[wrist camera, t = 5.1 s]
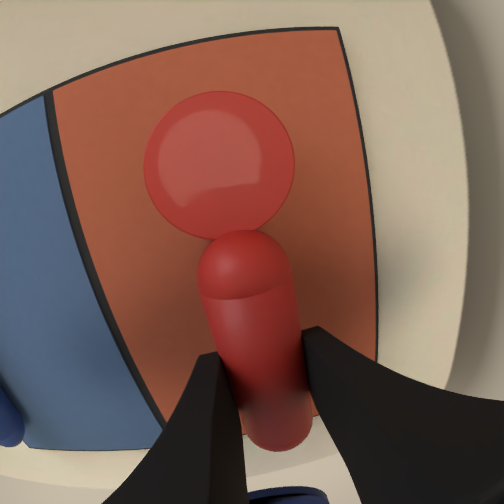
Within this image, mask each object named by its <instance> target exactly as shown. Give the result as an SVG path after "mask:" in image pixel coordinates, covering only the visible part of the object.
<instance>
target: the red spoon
mask: <svg viewBox="0 0 504 504" xmlns="http://www.w3.org/2000/svg"><path fill="white" fill-rule="evenodd" d="M294 172H295V157H294V150H293V146H292V142H291V139H290V137H289V134H288V132H287V130H286V128H285V127H284V125H283V123H282V122H281V121H280V119H279V118H278V117H277V116H276V115H275V114H274V113H273V112H272V111H271V110H270V109H269V108H268V107H267V106H265V105H264V104H263V103H261V102H259V101H258V100H256V99H254V98H252V97H249V96H247V95H244V94H241V93H237V92H231V91H210V92H203V93H200V94H196V95H193V96H191V97H189V98H186V99H184V100H183V101H181V102H179V103H178V104H176V105H175V106H173V107H172V108H171V109H170V110H168V111H167V112H166V113H165V114H164V115H163V116H162V117H161V119H160V120H159V121H158V123H157V124H156V125H155V127H154V129H153V131H152V132H151V134H150V136H149V139H148V142H147V144H146V148H145V152H144V160H143V175H144V180H145V185H146V188H147V192H148V194H149V196H150V198H151V201H152V203H153V204H154V206H155V207H156V209H157V210H158V211H159V213H160V214H161V215H162V216H163V217H164V218H165V219H166V220H167V221H168V222H169V223H170V224H172V225H173V226H174V227H176V228H177V229H179V230H181V231H183V232H185V233H187V234H189V235H192V236H195V237H198V238H203V239H208V240H213V241H211V242H210V243H209V245H208V246H207V247H206V248H205V250H204V251H203V253H202V255H201V257H200V259H199V263H198V267H197V277H196V279H197V284H198V290H199V294H200V297H201V300H202V304H203V307H204V310H205V314H206V317H207V320H208V323H209V326H210V330H211V333H212V336H213V339H214V342H215V345H216V348H217V351H218V354H219V355H220V358H221V361H222V364H223V367H224V370H225V373H226V376H227V379H228V382H229V384H230V387H231V390H232V393H233V396H234V399H235V402H236V404H237V407H238V411H239V415H240V418H241V421H242V423H243V426H244V429H245V431H246V433H247V435H248V437H249V438H250V440H251V441H253V442H254V443H255V444H256V445H257V446H259V447H261V448H262V449H265V450H269V451H274V452H281V451H287V450H290V449H292V448H294V447H296V446H298V445H299V444H300V443H302V442H303V441H304V440H305V438H306V437H307V436H308V434H309V432H310V430H311V427H312V420H313V415H312V407H311V399H310V391H309V385H308V378H307V371H306V363H305V356H304V349H303V342H302V335H301V334H302V333H301V326H300V319H299V313H298V306H297V300H296V293H295V287H294V281H293V275H292V268H291V264H290V261H289V258H288V256H287V254H286V252H285V250H284V249H283V248H282V246H281V245H280V244H279V243H278V242H277V241H276V240H275V239H273V238H272V237H271V236H269V235H268V234H266V233H263V232H261V231H258V230H257V229H259V228H260V227H262V226H263V225H264V224H266V223H267V222H268V221H270V220H271V219H272V217H273V216H274V215H275V214H276V213H277V212H278V211H279V209H280V208H281V207H282V205H283V204H284V202H285V200H286V199H287V197H288V194H289V192H290V190H291V186H292V183H293V179H294Z"/></svg>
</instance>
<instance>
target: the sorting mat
mask: <svg viewBox="0 0 504 504" xmlns="http://www.w3.org/2000/svg"><path fill="white" fill-rule="evenodd" d="M210 91H231V92H237V93H241V94H244V95H247V96H249V97H252V98H254V99H256V100H258V101H259V102H261V103H263V104H264V105H265V106H267V107H268V108H269V109H270V110H271V111H272V112H273V113H274V114H275V115H276V116H277V117H278V118H279V119H280V121H281V122H282V123H283V125H284V127H285V128H286V130H287V132H288V134H289V137H290V139H291V142H292V146H293V150H294V157H295V172H294V179H293V183H292V186H291V190H290V192H289V194H288V197H287V199H286V200H285V202H284V204H283V205H282V207H281V208H280V209H279V211H278V212H277V213H276V214H275V215H274V216H273V217H272V219H271V220H270V221H268V222H267V223H266V224H264V225H263V226H262V227H260V228H259V229H257V230H258V231H261V232H263V233H266V234H268V235H269V236H271V237H272V238H273V239H275V240H276V241H277V242H278V243H279V244H280V245H281V246H282V248H283V249H284V250H285V252H286V254H287V256H288V258H289V261H290V264H291V268H292V275H293V281H294V287H295V293H296V300H297V306H298V313H299V319H300V326H301V330H304V329H308V328H311V327H315V326H320V327H322V328H323V329H325V330H326V331H327V332H329V333H330V334H332V335H333V336H335V337H336V338H338V339H339V340H341V341H342V342H344V343H345V344H347V345H348V346H350V347H351V348H353V349H355V350H356V351H358V352H359V353H361V354H363V355H365V356H366V357H368V358H370V359H371V360H373V361H375V362H377V360H378V273H377V253H376V238H375V225H374V214H373V203H372V194H371V186H370V178H369V170H368V163H367V156H366V149H365V143H364V137H363V131H362V125H361V120H360V114H359V109H358V104H357V99H356V94H355V90H354V85H353V81H352V76H351V72H350V68H349V64H348V60H347V56H346V52H345V48H344V44H343V40H342V37H341V33H340V30H339V27H294V28H278V29H267V30H257V31H248V32H240V33H233V34H226V35H220V36H214V37H209V38H203V39H198V40H193V41H189V42H184V43H180V44H175V45H171V46H167V47H163V48H159V49H156V50H152V51H148V52H145V53H141V54H138V55H135V56H131V57H128V58H125V59H122V60H119V61H116V62H113V63H110V64H107V65H105V66H102V67H99V68H96V69H94V70H91V71H89V72H86V73H83V74H81V75H79V76H76V77H74V78H71V79H69V80H67V81H64V82H62V83H60V84H58V85H55V86H53V87H51V88H49V89H47V90H45V91H43V92H41V93H39V94H37V95H35V96H33V97H31V98H29V99H27V100H25V101H23V102H21V103H19V104H18V105H16V106H14V107H12V108H10V109H9V110H7V111H5V112H3V113H2V114H0V386H1V388H2V389H3V391H4V392H5V394H6V395H7V397H8V398H9V400H10V401H11V403H12V404H13V405H14V407H15V408H16V409H17V411H18V412H19V414H20V415H21V417H22V419H23V421H24V424H25V435H24V438H23V441H24V442H25V444H26V445H27V446H28V447H29V448H35V449H47V450H65V451H119V450H138V449H151V447H152V446H153V444H154V443H155V441H156V440H157V438H158V437H159V435H160V433H161V432H162V430H163V429H164V427H165V425H166V423H167V421H168V420H169V418H170V416H171V414H172V413H173V411H174V409H175V407H176V405H177V403H178V401H179V399H180V397H181V395H182V393H183V391H184V389H185V387H186V384H187V382H188V380H189V378H190V375H191V373H192V370H193V368H194V365H195V363H196V360H197V358H198V357H199V355H202V354H207V353H211V352H216V351H217V348H216V345H215V342H214V339H213V336H212V333H211V330H210V326H209V323H208V320H207V317H206V314H205V310H204V307H203V304H202V300H201V297H200V294H199V290H198V284H197V279H196V277H197V267H198V263H199V259H200V257H201V255H202V253H203V251H204V250H205V248H206V247H207V246H208V245H209V243H210V242H211V241H213V240H208V239H203V238H198V237H195V236H192V235H189V234H187V233H185V232H183V231H181V230H179V229H177V228H176V227H174V226H173V225H172V224H170V223H169V222H168V221H167V220H166V219H165V218H164V217H163V216H162V215H161V214H160V213H159V211H158V210H157V209H156V207H155V206H154V204H153V203H152V201H151V198H150V196H149V194H148V192H147V188H146V185H145V180H144V175H143V160H144V152H145V148H146V144H147V142H148V139H149V136H150V134H151V132H152V131H153V129H154V127H155V125H156V124H157V123H158V121H159V120H160V119H161V117H162V116H163V115H164V114H165V113H166V112H167V111H168V110H170V109H171V108H172V107H173V106H175V105H176V104H178V103H179V102H181V101H183V100H184V99H186V98H189V97H191V96H193V95H196V94H200V93H203V92H210ZM310 399H311V407H312V415H313V417H315V416H318V415H319V413H318V411H317V409H316V407H315V405H314V402H313V399H312V397H311V394H310ZM239 416H240V415H239ZM240 421H241V418H240ZM241 426H242V435H246V434H247V433H246V431H245V429H244V426H243V423H242V421H241Z"/></svg>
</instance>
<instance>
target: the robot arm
mask: <svg viewBox="0 0 504 504" xmlns="http://www.w3.org/2000/svg"><path fill="white" fill-rule="evenodd" d="M301 333H302V334H301V335H302V342H303V349H304V356H305V363H306V371H307V378H308V385H309V391H310V394H311V397H312V399H313V402H314V405H315V407H316V409H317V411H318V413H319V415H320V417H321V419H322V421H323V423H324V424H325V426H326V428H327V430H328V432H329V434H330V436H331V438H332V439H333V441H334V443H335V445H336V447H337V449H338V451H339V452H340V454H341V456H342V458H343V460H344V462H345V464H346V466H347V468H348V470H349V472H350V475H351V477H352V480H353V482H354V485H355V488H356V490H357V493H358V495H359V498H360V500H361V503H362V504H504V401H499V400H492V399H484V398H477V397H472V396H467V395H462V394H458V393H454V392H450V391H446V390H443V389H439V388H436V387H433V386H430V385H427V384H424V383H421V382H419V381H416V380H413V379H411V378H408V377H406V376H403V375H401V374H399V373H397V372H394V371H392V370H390V369H388V368H386V367H384V366H382V365H380V364H379V363H377V362H375V361H373V360H371V359H370V358H368V357H366V356H365V355H363V354H361V353H359V352H358V351H356V350H355V349H353V348H351V347H350V346H348V345H347V344H345V343H344V342H342V341H341V340H339V339H338V338H336V337H335V336H333V335H332V334H330V333H329V332H327V331H326V330H325V329H323V328H322V327H320V326H315V327H311V328H308V329H304V330H301ZM102 504H250V503H249V499H248V492H247V486H246V473H245V461H244V449H243V438H242V426H241V421H240V416H239V411H238V407H237V404H236V402H235V399H234V396H233V393H232V390H231V387H230V384H229V382H228V379H227V376H226V373H225V370H224V367H223V364H222V361H221V358H220V355H219V354H218V351H216V352H211V353H207V354H202V355H199V357H198V358H197V360H196V363H195V365H194V368H193V370H192V373H191V375H190V378H189V380H188V382H187V384H186V387H185V389H184V391H183V393H182V395H181V397H180V399H179V401H178V403H177V405H176V407H175V409H174V411H173V413H172V414H171V416H170V418H169V420H168V421H167V423H166V425H165V427H164V429H163V430H162V432H161V433H160V435H159V437H158V438H157V440H156V441H155V443H154V444H153V446H152V447H151V449H150V450H149V451H148V453H147V454H146V455H145V457H144V458H143V459H142V461H141V462H140V463H139V464H138V466H137V467H136V468H135V469H134V471H133V472H132V473H131V474H130V475H129V477H128V478H127V479H126V480H125V481H124V482H123V483H122V484H121V485H120V486H119V488H118V489H117V490H115V492H113V493H112V494H111V495H110V496H109V497H108V498H107V499H106V500H105V501H104V502H103V503H102Z"/></svg>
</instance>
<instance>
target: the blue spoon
mask: <svg viewBox="0 0 504 504" xmlns="http://www.w3.org/2000/svg"><path fill="white" fill-rule="evenodd" d="M24 435H25V424H24V421H23V419H22V417H21V415H20V414H19V412H18V411H17V409H16V408H15V407H14V405H13V404H12V403H11V401H10V400H9V398H8V397H7V395H6V394H5V392H4V391H3V389H2V388H1V386H0V445H2V446H4V447H14V446H17V445H18V444H20V443H21V442H22V440H23V438H24Z"/></svg>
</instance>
